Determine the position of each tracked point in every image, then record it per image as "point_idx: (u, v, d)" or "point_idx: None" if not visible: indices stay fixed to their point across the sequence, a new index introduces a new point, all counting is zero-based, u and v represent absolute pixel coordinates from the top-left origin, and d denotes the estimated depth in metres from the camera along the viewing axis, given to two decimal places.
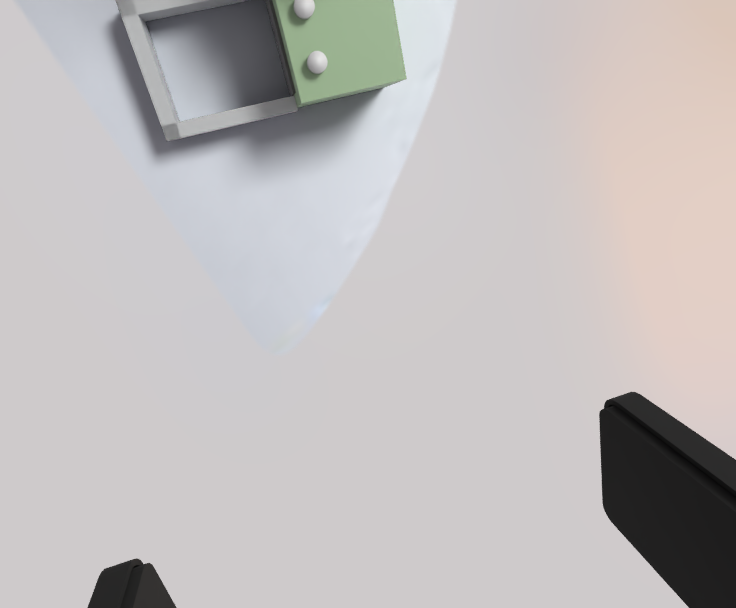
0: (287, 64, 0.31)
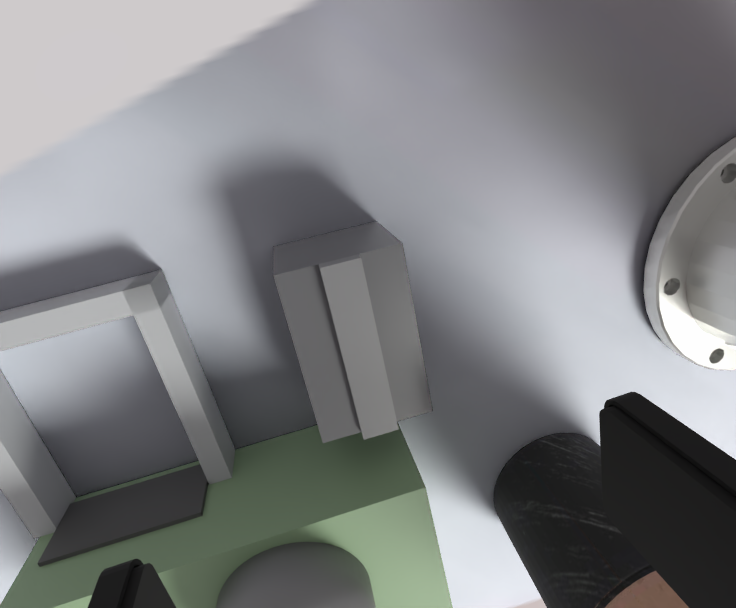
0: (83, 551, 0.18)
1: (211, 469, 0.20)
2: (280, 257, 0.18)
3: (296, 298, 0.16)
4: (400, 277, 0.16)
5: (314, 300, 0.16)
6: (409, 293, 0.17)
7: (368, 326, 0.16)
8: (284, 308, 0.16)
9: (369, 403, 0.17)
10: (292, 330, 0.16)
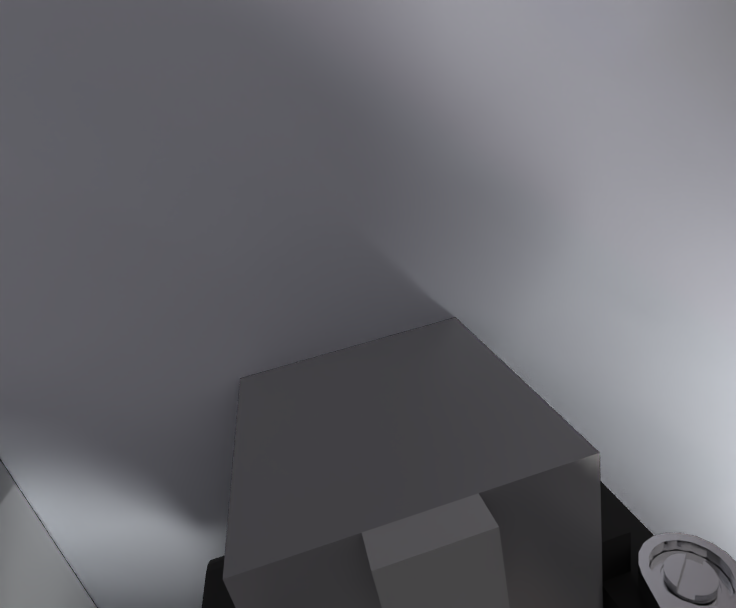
0: None
1: None
2: (252, 445, 0.07)
3: None
4: (581, 533, 0.06)
5: None
6: (597, 564, 0.06)
7: None
8: None
9: None
10: None
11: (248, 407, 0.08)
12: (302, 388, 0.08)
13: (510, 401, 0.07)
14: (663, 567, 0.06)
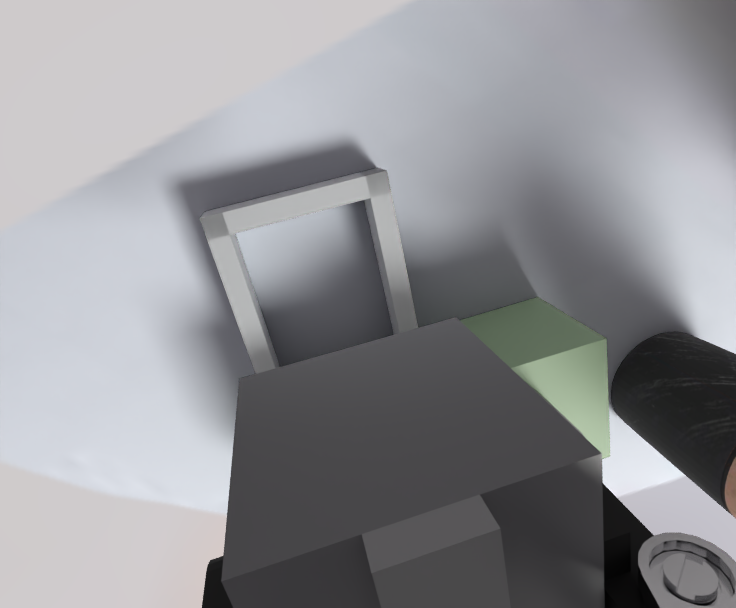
0: None
1: None
2: (251, 446, 0.07)
3: None
4: (583, 534, 0.06)
5: None
6: (599, 566, 0.06)
7: None
8: None
9: None
10: None
11: (247, 407, 0.08)
12: (301, 388, 0.08)
13: (511, 401, 0.07)
14: (663, 567, 0.06)
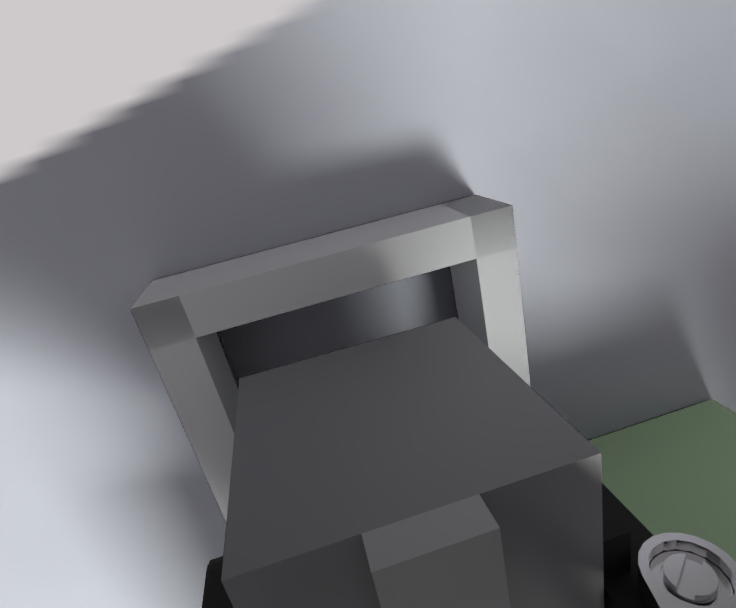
0: None
1: None
2: (251, 445, 0.07)
3: None
4: (582, 533, 0.06)
5: None
6: (598, 565, 0.06)
7: None
8: None
9: None
10: None
11: (247, 407, 0.08)
12: (301, 388, 0.08)
13: (511, 401, 0.07)
14: (663, 567, 0.06)
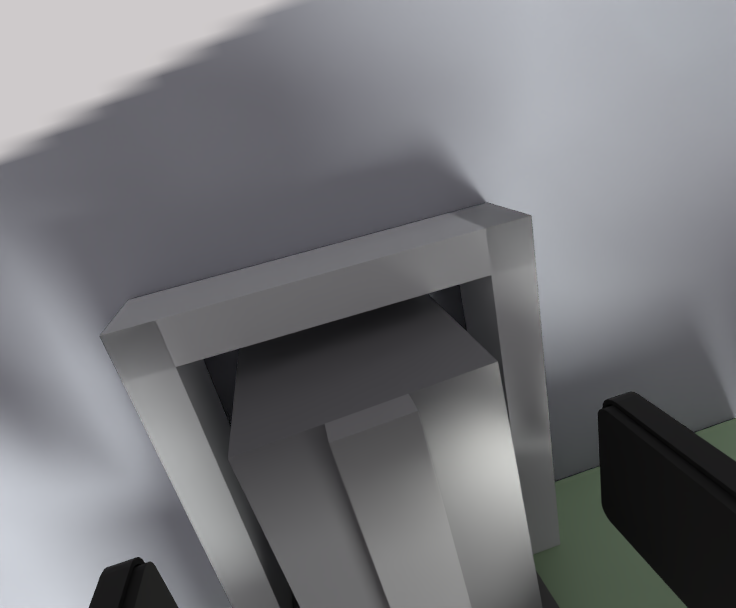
0: None
1: (536, 533, 0.13)
2: (248, 382, 0.09)
3: (283, 493, 0.08)
4: (493, 425, 0.08)
5: (320, 491, 0.08)
6: (510, 451, 0.08)
7: (435, 533, 0.08)
8: (258, 514, 0.08)
9: None
10: (279, 550, 0.08)
11: (246, 358, 0.10)
12: (288, 341, 0.10)
13: (443, 335, 0.09)
14: None
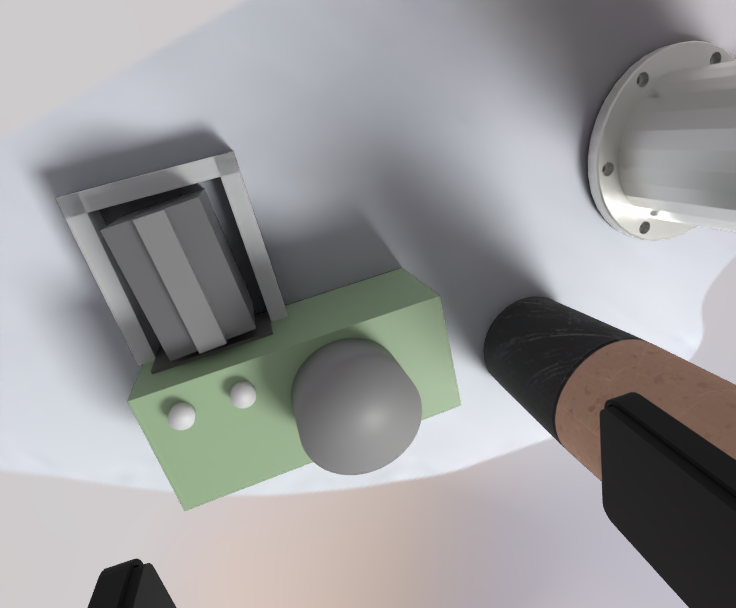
0: (185, 362, 0.24)
1: (273, 308, 0.27)
2: (117, 220, 0.23)
3: (123, 246, 0.21)
4: (203, 223, 0.22)
5: (137, 247, 0.21)
6: (213, 235, 0.22)
7: (182, 262, 0.22)
8: (114, 255, 0.21)
9: (197, 323, 0.23)
10: (125, 272, 0.22)
11: (120, 217, 0.24)
12: (140, 211, 0.24)
13: (192, 196, 0.23)
14: None
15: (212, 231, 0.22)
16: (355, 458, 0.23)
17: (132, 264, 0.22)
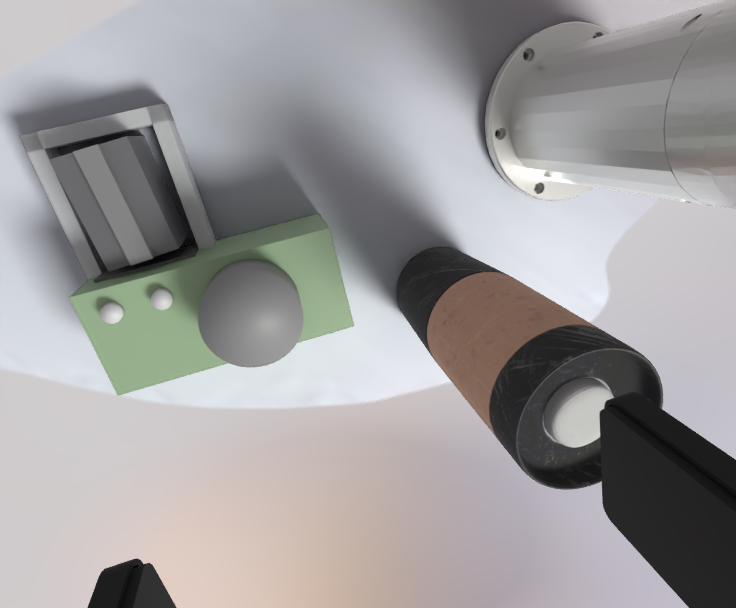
0: (121, 274, 0.30)
1: (200, 238, 0.32)
2: None
3: (67, 174, 0.27)
4: (131, 158, 0.28)
5: (78, 174, 0.27)
6: (140, 168, 0.28)
7: (113, 188, 0.27)
8: (61, 180, 0.27)
9: (127, 239, 0.28)
10: (69, 194, 0.27)
11: None
12: None
13: None
14: None
15: (139, 164, 0.28)
16: (248, 353, 0.28)
17: (75, 188, 0.27)
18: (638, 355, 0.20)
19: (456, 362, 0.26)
